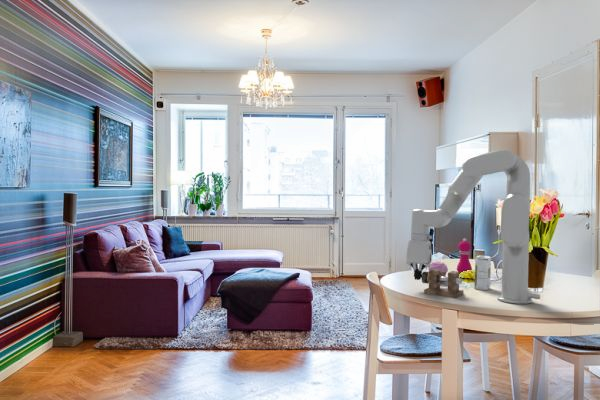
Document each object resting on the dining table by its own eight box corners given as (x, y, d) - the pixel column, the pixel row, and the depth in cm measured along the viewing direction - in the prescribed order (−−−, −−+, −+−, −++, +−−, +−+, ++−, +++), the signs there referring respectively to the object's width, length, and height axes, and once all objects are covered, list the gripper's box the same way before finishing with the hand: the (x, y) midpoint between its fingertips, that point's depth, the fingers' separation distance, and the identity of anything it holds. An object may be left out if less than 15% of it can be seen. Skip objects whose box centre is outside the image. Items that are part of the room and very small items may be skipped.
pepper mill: (472, 279, 234) (473, 239, 234) (457, 278, 236) (458, 238, 235) (470, 276, 241) (471, 237, 241) (455, 276, 243) (456, 237, 242)
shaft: (462, 286, 198) (462, 274, 198) (459, 288, 194) (459, 276, 194) (425, 282, 207) (425, 270, 207) (421, 283, 203) (421, 272, 203)
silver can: (476, 286, 216) (477, 255, 215) (490, 288, 213) (491, 256, 212) (474, 289, 211) (474, 256, 210) (488, 290, 208) (488, 257, 207)
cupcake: (424, 282, 226) (425, 261, 226) (434, 279, 232) (434, 259, 232) (441, 284, 220) (442, 263, 219) (451, 282, 226) (451, 261, 225)
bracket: (463, 293, 200) (463, 271, 200) (457, 297, 193) (457, 274, 192) (430, 289, 208) (431, 268, 208) (423, 293, 200) (424, 271, 200)
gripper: (439, 238, 205) (437, 280, 205) (406, 235, 213) (404, 275, 214) (433, 239, 199) (431, 283, 199) (400, 236, 207) (398, 278, 207)
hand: (417, 279), depth 206 cm, fingers closed
